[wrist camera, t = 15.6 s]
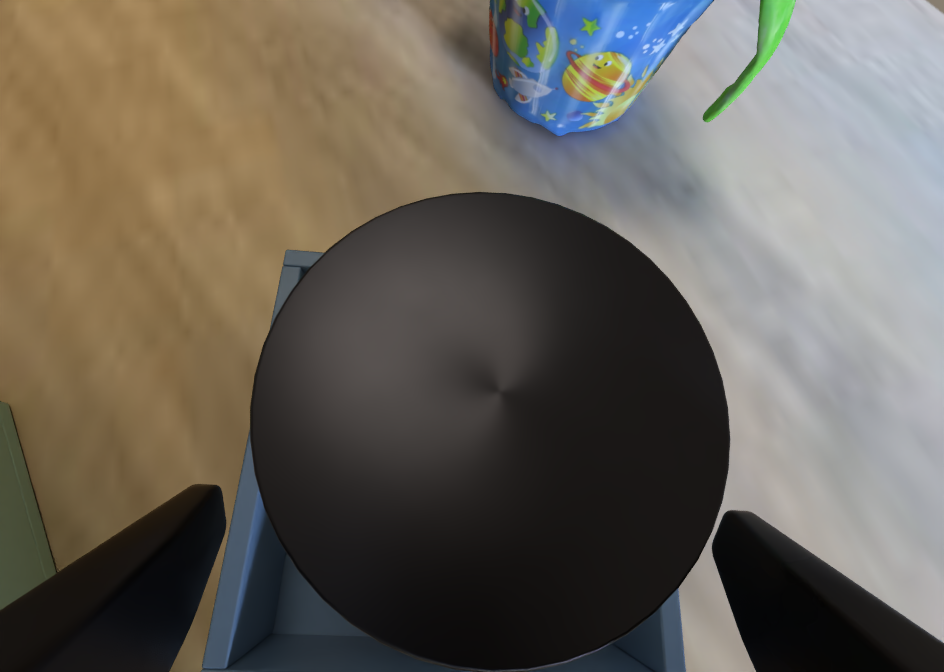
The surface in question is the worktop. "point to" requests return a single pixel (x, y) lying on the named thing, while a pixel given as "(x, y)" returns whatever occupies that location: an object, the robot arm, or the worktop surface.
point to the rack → (19, 521)
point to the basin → (324, 630)
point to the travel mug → (489, 432)
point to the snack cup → (600, 55)
